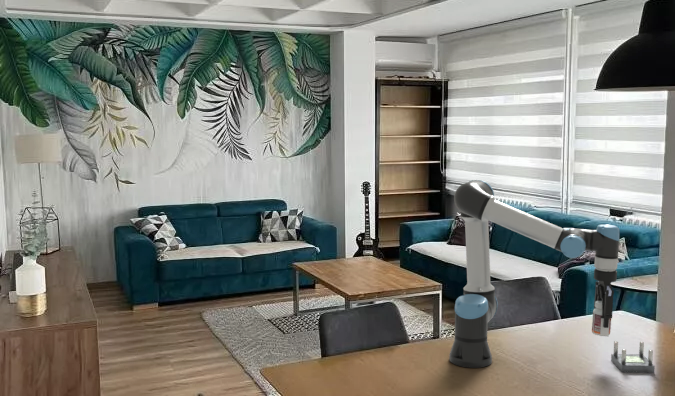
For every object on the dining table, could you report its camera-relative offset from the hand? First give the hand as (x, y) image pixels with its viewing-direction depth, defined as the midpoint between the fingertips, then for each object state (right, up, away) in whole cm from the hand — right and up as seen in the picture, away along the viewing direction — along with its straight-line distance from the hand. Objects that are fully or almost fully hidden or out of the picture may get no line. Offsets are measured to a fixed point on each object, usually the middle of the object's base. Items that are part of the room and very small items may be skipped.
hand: (601, 332), depth 253 cm
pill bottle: (0, -1, 0) cm, 1 cm away
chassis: (+11, -12, 0) cm, 16 cm away
